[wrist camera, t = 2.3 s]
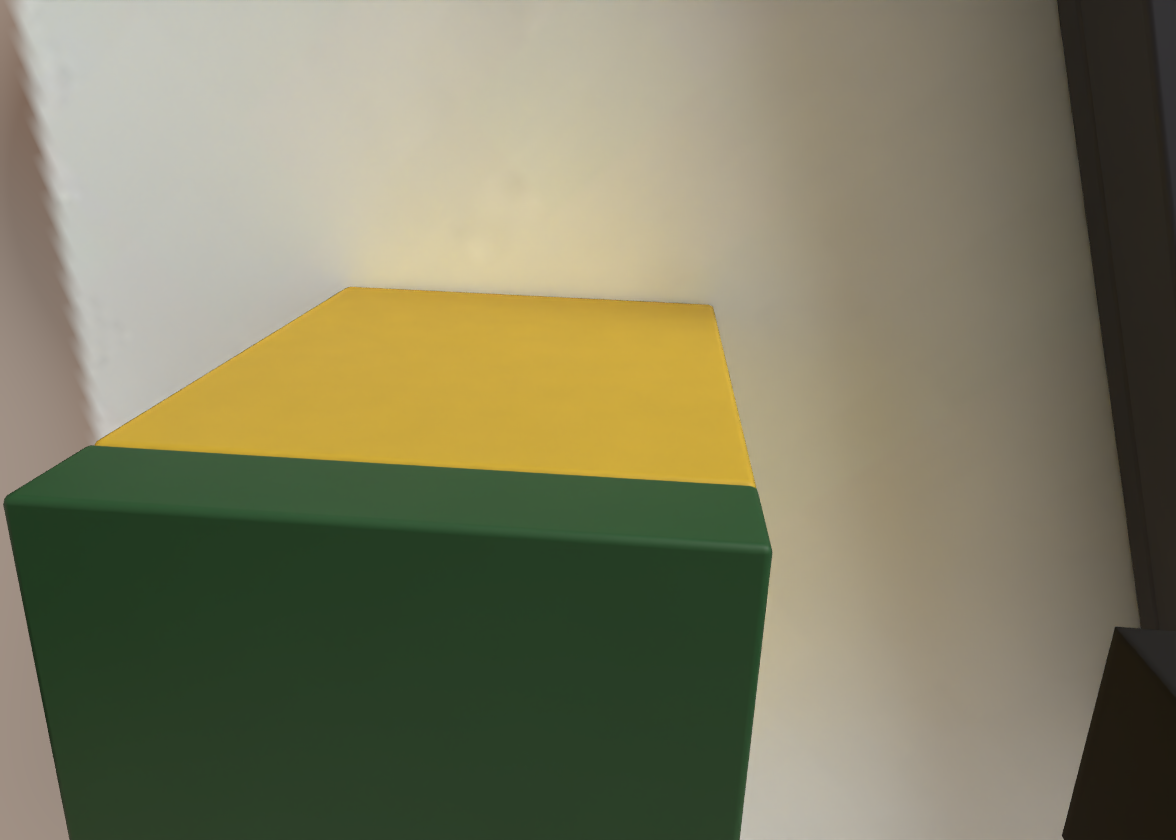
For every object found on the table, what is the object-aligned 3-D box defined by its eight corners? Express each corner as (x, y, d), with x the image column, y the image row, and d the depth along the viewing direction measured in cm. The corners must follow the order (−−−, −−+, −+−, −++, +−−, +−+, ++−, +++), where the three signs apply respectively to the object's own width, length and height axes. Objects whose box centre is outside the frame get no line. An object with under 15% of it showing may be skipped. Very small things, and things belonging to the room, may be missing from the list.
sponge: (345, 285, 13) (-3, 497, 6) (713, 303, 12) (774, 548, 6) (369, 712, 15) (138, 1203, 8) (678, 737, 15) (692, 1265, 8)
